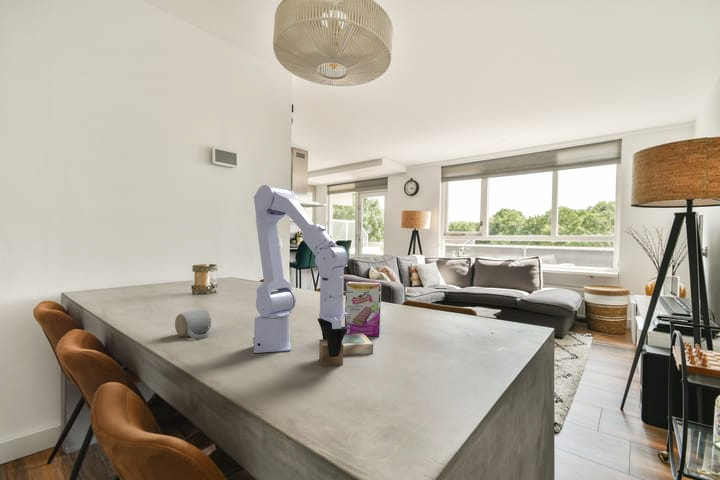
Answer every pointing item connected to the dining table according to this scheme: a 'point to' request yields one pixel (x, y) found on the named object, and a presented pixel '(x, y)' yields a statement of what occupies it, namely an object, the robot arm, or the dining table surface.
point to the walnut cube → (325, 357)
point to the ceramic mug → (193, 323)
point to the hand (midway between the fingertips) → (331, 351)
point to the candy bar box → (363, 308)
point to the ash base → (356, 344)
